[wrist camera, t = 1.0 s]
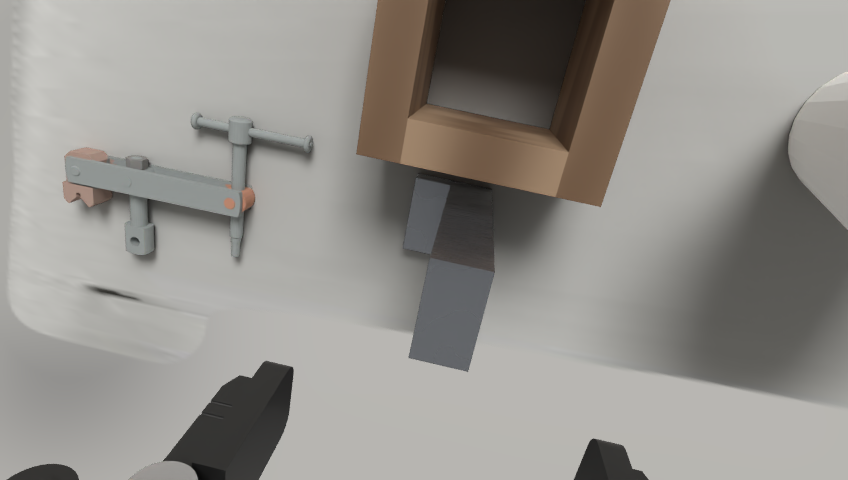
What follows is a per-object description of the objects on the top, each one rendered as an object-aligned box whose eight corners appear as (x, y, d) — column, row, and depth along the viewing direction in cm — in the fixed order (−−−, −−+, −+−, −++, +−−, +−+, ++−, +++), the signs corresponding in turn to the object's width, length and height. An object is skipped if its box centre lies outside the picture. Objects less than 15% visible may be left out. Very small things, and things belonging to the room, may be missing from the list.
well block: (641, -46, 24) (698, -83, 18) (574, 171, 28) (600, 206, 22) (421, -89, 25) (397, -140, 18) (386, 131, 29) (356, 154, 22)
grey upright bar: (491, 189, 29) (494, 272, 18) (475, 256, 31) (467, 371, 19) (418, 173, 29) (376, 245, 18) (405, 241, 31) (359, 346, 20)
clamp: (66, 244, 32) (51, 84, 28) (92, 232, 34) (81, 82, 30) (293, 293, 31) (307, 135, 27) (305, 279, 33) (319, 130, 30)
